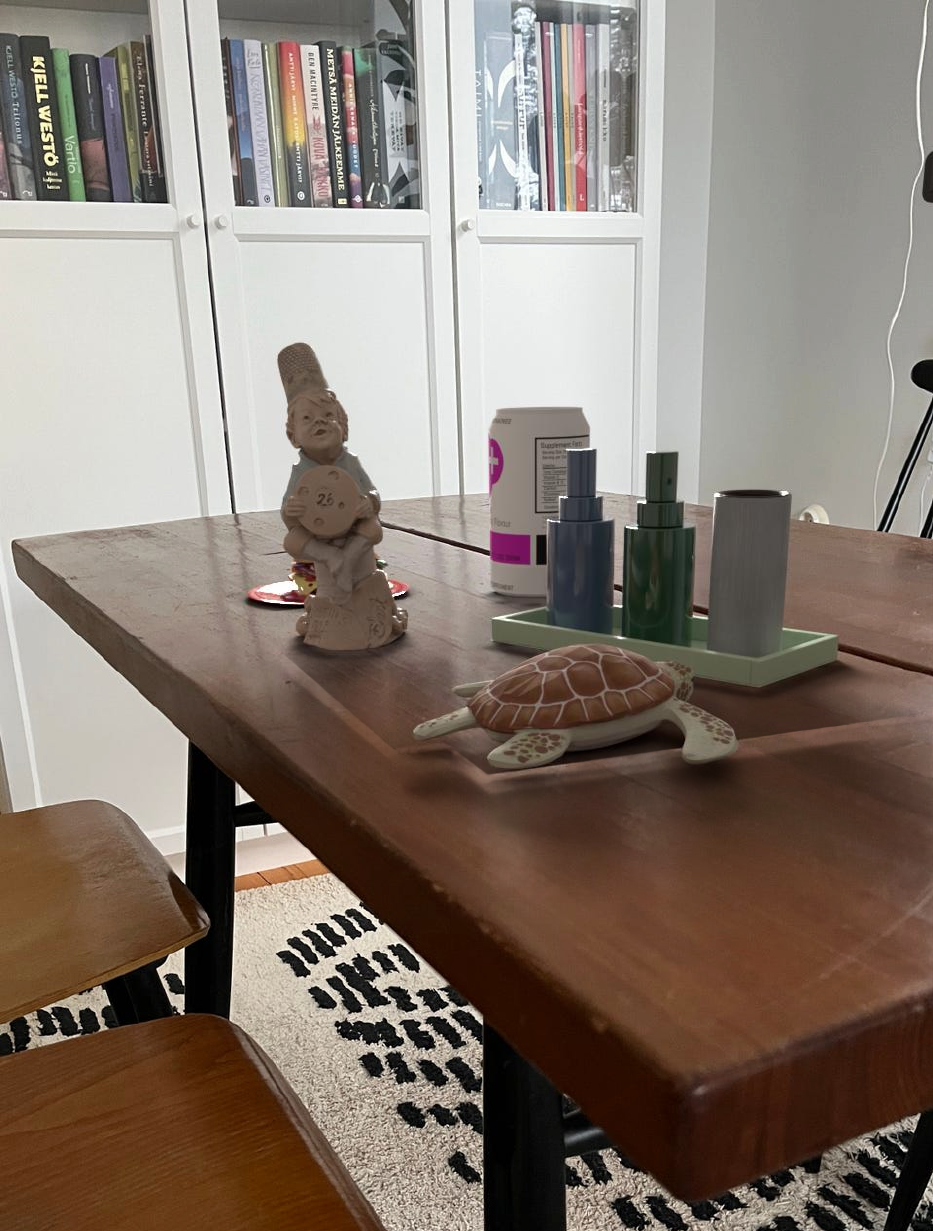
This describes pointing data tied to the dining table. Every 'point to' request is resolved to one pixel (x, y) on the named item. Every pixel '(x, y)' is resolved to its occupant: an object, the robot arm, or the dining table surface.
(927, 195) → the robot arm
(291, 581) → the red plate
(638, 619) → the green bottle
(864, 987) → the dining table surface
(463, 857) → the dining table surface
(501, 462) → the supplement can
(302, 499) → the figurine
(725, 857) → the dining table surface
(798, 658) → the tray
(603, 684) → the decorative turtle
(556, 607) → the blue bottle
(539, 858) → the dining table surface
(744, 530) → the grey cylinder
